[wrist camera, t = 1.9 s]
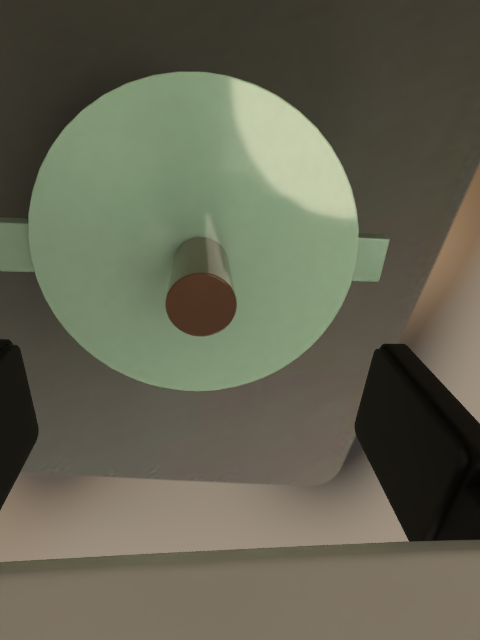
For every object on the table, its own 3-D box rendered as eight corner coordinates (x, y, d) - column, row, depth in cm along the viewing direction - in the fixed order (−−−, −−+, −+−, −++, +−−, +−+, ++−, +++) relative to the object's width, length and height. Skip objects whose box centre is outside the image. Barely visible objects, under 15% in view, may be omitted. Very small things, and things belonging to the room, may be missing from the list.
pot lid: (4, 56, 14) (-103, 23, 9) (383, 90, 16) (467, 78, 11) (64, 378, 21) (22, 460, 16) (322, 378, 23) (357, 451, 18)
